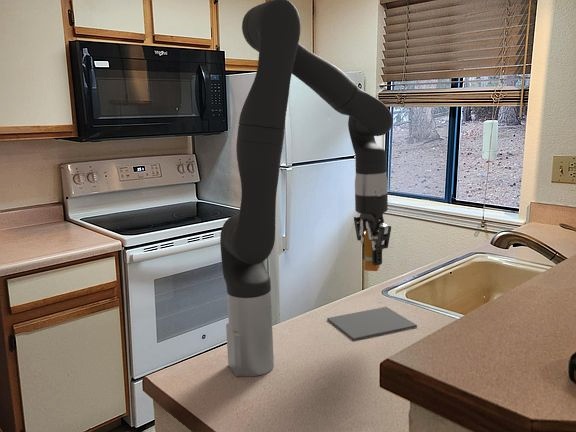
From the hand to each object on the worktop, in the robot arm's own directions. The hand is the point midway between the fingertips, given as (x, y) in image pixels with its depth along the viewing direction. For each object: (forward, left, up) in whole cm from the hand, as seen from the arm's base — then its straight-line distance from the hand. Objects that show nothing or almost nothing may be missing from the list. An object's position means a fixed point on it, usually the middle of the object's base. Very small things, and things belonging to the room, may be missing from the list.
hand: (372, 261), depth 127 cm
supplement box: (0, 0, -2) cm, 2 cm away
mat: (+2, +4, -18) cm, 19 cm away
